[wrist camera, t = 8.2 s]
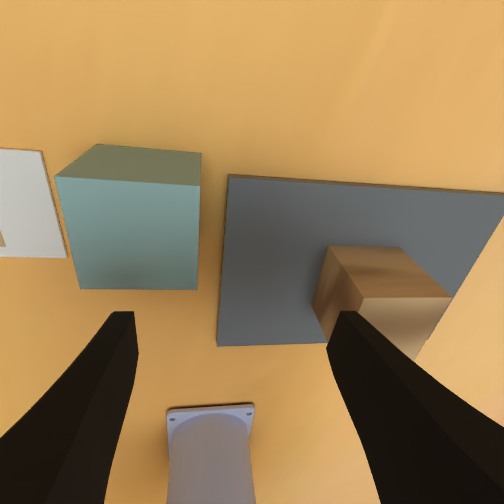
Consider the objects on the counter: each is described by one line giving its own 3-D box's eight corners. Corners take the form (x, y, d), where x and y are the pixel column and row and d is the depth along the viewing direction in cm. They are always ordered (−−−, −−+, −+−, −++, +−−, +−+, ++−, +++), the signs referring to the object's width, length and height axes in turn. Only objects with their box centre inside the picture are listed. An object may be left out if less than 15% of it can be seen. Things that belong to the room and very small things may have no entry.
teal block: (198, 236, 18) (197, 289, 14) (110, 233, 17) (80, 288, 13) (201, 152, 15) (200, 186, 11) (97, 143, 14) (54, 176, 10)
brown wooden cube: (374, 304, 22) (414, 360, 18) (311, 304, 21) (337, 364, 17) (399, 247, 20) (452, 297, 15) (328, 245, 19) (364, 297, 15)
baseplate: (423, 334, 26) (427, 339, 25) (216, 340, 23) (216, 346, 22) (506, 193, 19) (515, 196, 19) (228, 174, 16) (229, 177, 16)
